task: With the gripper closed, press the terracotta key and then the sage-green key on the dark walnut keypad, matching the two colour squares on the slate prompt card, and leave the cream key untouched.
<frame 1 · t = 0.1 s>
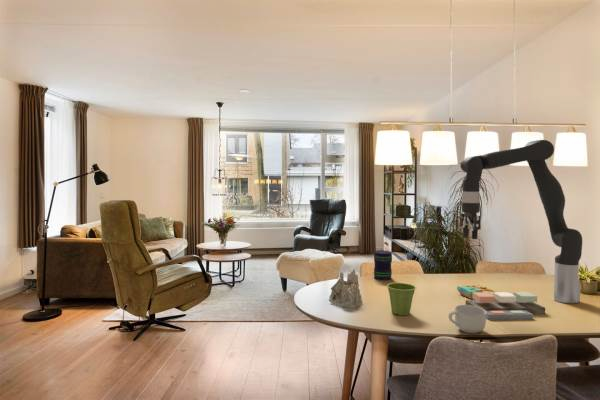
hand: (470, 237, 187), 29 cm above the table, tool pointing down, fingers open, 8 cm apart
prompt card: (507, 317, 167), on the table
teacup: (465, 331, 152), on the table
key cream: (504, 297, 177), point 5 cm above the table, slide at 0.0 cm
keypad base: (504, 309, 177), on the table
key sage: (525, 296, 177), point 5 cm above the table, slide at 0.0 cm
puzzle game: (481, 299, 194), on the table
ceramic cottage: (344, 302, 189), on the table
storage jar: (382, 278, 235), on the table
key terracotta: (483, 297, 177), point 5 cm above the table, slide at 0.0 cm
plant pot: (401, 313, 173), on the table
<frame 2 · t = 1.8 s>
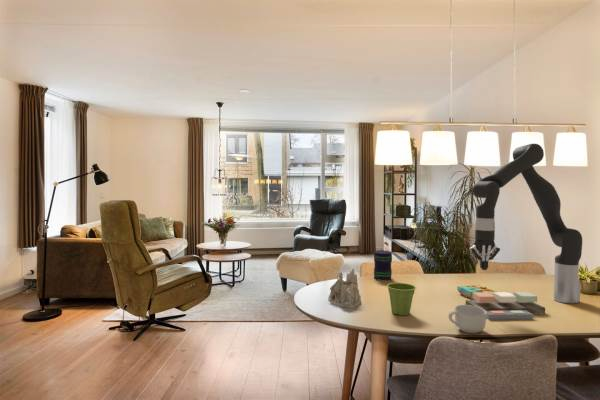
hand: (483, 269, 176), 17 cm above the table, tool pointing down, fingers closed
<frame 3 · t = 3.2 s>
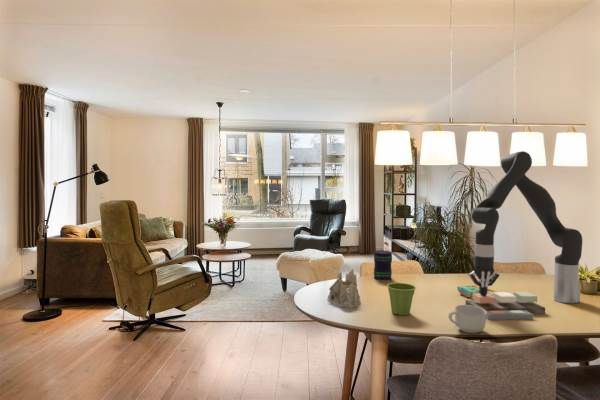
hand: (483, 295, 177), 6 cm above the table, tool pointing down, fingers closed
key terracotta: (483, 298, 177), point 5 cm above the table, slide at 0.4 cm, touching gripper
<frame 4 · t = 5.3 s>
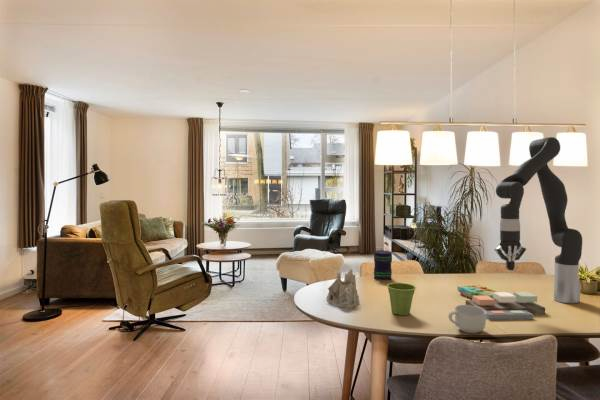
hand: (510, 269, 177), 17 cm above the table, tool pointing down, fingers closed
key terracotta: (483, 300, 177), point 4 cm above the table, slide at 1.3 cm
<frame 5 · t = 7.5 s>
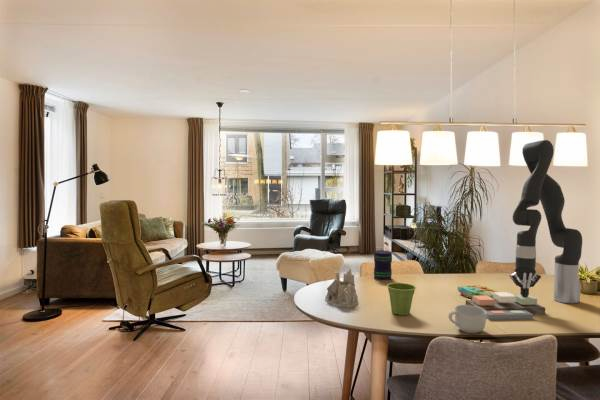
hand: (524, 296, 177), 6 cm above the table, tool pointing down, fingers closed
key sage: (525, 299, 177), point 4 cm above the table, slide at 1.1 cm, touching gripper
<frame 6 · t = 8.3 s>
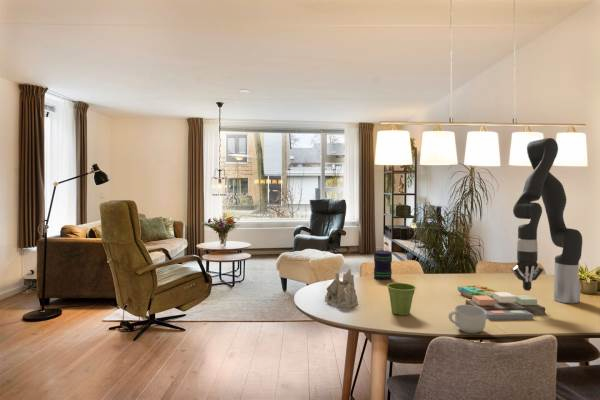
hand: (527, 290, 177), 8 cm above the table, tool pointing down, fingers closed
key sage: (525, 300, 177), point 4 cm above the table, slide at 1.4 cm
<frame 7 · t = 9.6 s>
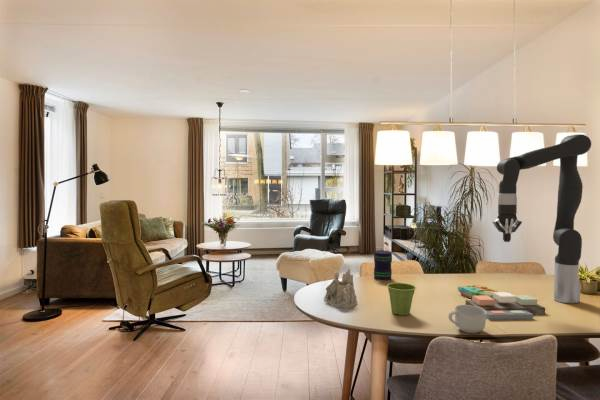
hand: (506, 241, 189), 27 cm above the table, tool pointing down, fingers closed
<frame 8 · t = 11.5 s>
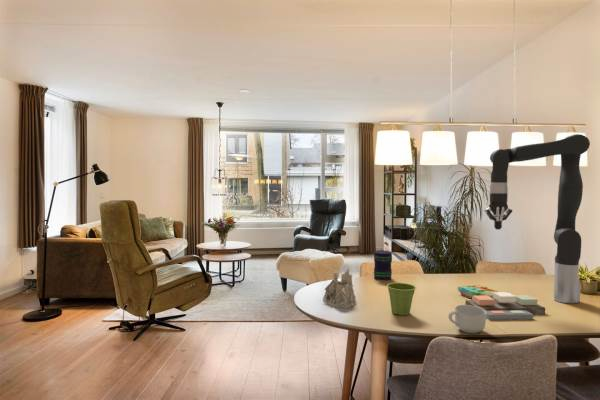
hand: (497, 229, 196), 32 cm above the table, tool pointing down, fingers closed
at the end: key terracotta slide at 1.3 cm; key sage slide at 1.4 cm; key cream slide at 0.0 cm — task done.
